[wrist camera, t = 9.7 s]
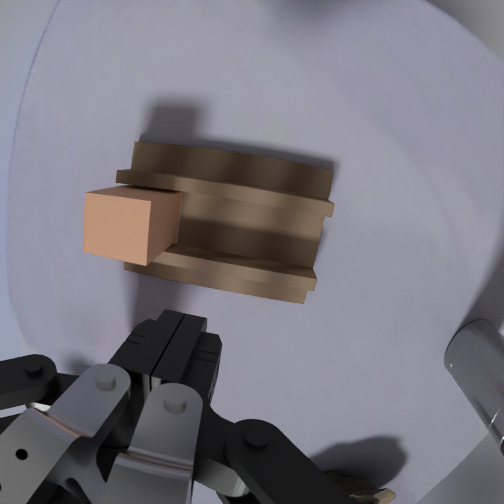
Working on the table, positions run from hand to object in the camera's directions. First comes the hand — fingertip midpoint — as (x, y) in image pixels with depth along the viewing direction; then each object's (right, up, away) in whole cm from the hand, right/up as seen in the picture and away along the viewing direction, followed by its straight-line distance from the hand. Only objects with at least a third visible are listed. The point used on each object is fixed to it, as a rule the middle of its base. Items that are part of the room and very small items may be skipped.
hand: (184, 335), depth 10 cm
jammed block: (-8, +7, +19) cm, 21 cm away
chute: (-1, +6, +20) cm, 21 cm away
